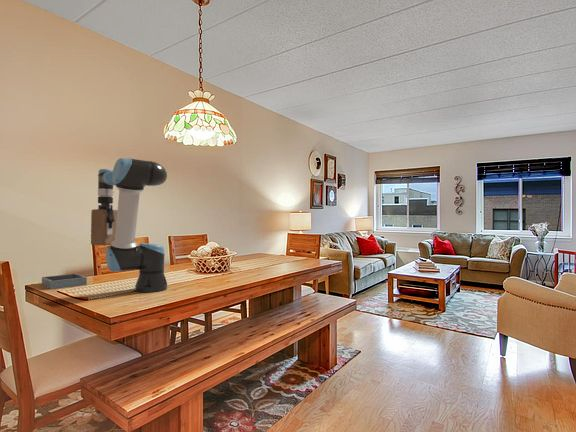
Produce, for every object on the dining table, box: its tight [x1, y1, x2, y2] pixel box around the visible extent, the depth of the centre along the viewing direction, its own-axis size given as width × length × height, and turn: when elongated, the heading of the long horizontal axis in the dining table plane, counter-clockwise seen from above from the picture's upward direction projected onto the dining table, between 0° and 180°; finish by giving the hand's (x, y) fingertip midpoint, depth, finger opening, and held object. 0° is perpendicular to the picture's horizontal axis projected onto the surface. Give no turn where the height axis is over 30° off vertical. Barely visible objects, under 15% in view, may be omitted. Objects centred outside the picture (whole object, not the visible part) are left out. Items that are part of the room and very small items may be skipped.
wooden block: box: [90, 208, 118, 246], centre depth 187 cm, size 10×10×20 cm
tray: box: [41, 273, 88, 291], centre depth 173 cm, size 16×16×4 cm
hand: (104, 233), depth 187 cm, fingers open, 13 cm apart
